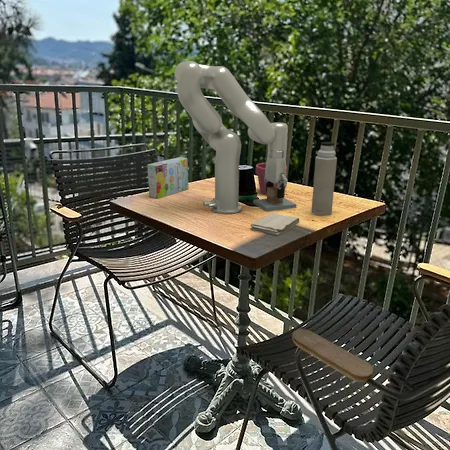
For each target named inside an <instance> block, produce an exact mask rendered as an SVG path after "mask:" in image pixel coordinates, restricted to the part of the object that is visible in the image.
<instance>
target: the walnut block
mask: <svg viewBox="0 0 450 450" xmlns="http://www.w3.org/2000/svg"><path fill="white" fill-rule="evenodd" d="M277 189H279V188H278V186H276V187H267V195H266V199H267V202H269V203H271V204H279V203H283V198H277Z"/></svg>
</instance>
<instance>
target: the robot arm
mask: <svg viewBox="0 0 450 450" xmlns="http://www.w3.org/2000/svg"><path fill="white" fill-rule="evenodd" d="M174 77H175V80H176V82H177V84H176V91H177V97H178V100H179V102H180V104H181V105H182V107H183V108H184V109H185V111H186V112H187V114H188V115H189V116H190V117H191V119H192V120H191V121H192V123H193V126H194V128H195V129H196V131H197V132H198V133H199V134H200V135H201V137H202V138H203V139H204V140H205V142H206V143H207V144H209V146H210V147H211V148H212V149H213V150H214V151H216V152H215V159H214V160H215V161H214V197H212V199H211V200H210V201H208V200H207V201H203V207H209V208H210V210H211V211H212V212H214V213H218V214H224V215H225V214H228V215H230V214H236V213H240V212H242V210H243V206H242V205H241V204H239V195H240V194H239V187H240V186H239V185H240V183H239V182H240V158H241V157H240V156H241V152H242V150H241V149H242V142H241V139H240V137H239V135H238V134H237V133H235V132H234V131H232V130H229V129H227V128H226V127H225V125H224V124H223V119H222V116H221V115H220V114H219V112H218V111H217V110H216V109H215V108H214V107H213V105H212V104H211V102H210V101H209V100H207V98H206V96H205V95H204V94H203V91H202V90H201V89H207V90H214V91H215V93H216V95H218V96H219V98H220V99H221V101H222V102H223V104H225V106H226V107H227V109H228V110H229V112H231V113H232V114H233V116H235V117H236V118H238V119H240V120H241V121H242V122H243V123H244V124H245V125H246V126H247V127H248V128H247V135H248V137H249V138H250V139H251V140H252V141H255V142H256V143H259V144H261V145H267V158H266V162H265V163H266V169H265V179H266V192H267V187H273V183H274V184H276V183H277V185H278V188H279V189H277V198H285V194H286V189H287V184H288V178H287V174H286V166H287V163H286V162H287V161H286V159H287V147H288V128H289V126H288V124H287V123H285V122H270V121H269V119H268V118H267V116H266V115H265V113H264V112H263V111H262V110H261V108H259V107H258V106H257V105H256V104H255V103H254V101H253V100H252V99H251V98H250V97H249V96H248V94H247V93H246V92H245V91H244V89H243V88H242V87H241V85H240V84H239V82H238V81H237V79H236V78H235V76H233V74H232V73H231V71H230V69H228V68H227V67H225V66H222V65H220V66H219V65H216V66H215V65H205V64H200V63H197V62H196V61H192V60H188V61H182V62H180V63H178V64H177V65H176V67H175V68H174ZM280 184H281V186H280Z"/></svg>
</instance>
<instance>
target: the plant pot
mask: <svg viewBox="0 0 450 450" xmlns="http://www.w3.org/2000/svg"><path fill="white" fill-rule="evenodd" d="M265 169H266V162H260V163H257V164H256V165H255V174H256V175H257V179H258V180H257V181H258V186H259V191H260V193H261V195H265V196H267V192H266V179H265ZM287 173H288V167H287V165H286V175H287ZM276 186H278V185H277V183H276V184H274V183H273V187H276ZM280 186H281V184H280Z"/></svg>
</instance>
